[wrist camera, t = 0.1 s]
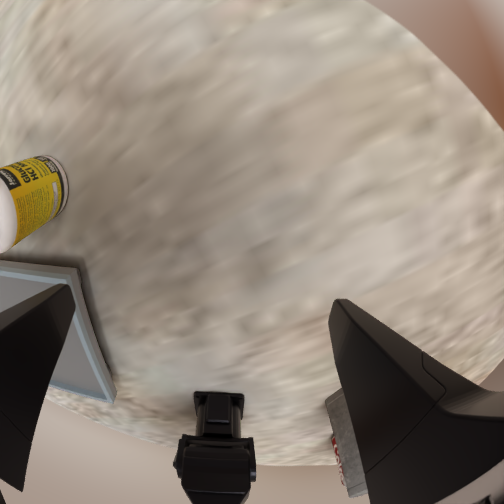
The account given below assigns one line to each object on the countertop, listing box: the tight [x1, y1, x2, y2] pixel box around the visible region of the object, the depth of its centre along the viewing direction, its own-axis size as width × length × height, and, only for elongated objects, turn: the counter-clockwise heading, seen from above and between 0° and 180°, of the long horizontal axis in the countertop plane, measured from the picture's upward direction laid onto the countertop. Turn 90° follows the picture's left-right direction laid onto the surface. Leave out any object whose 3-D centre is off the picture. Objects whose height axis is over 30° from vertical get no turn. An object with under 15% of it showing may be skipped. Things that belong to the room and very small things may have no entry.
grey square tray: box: [0, 260, 117, 404], centre depth 25 cm, size 18×16×4 cm
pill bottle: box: [0, 156, 68, 253], centre depth 15 cm, size 6×6×11 cm
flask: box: [325, 388, 368, 498], centre depth 25 cm, size 4×14×18 cm, turn 132°
